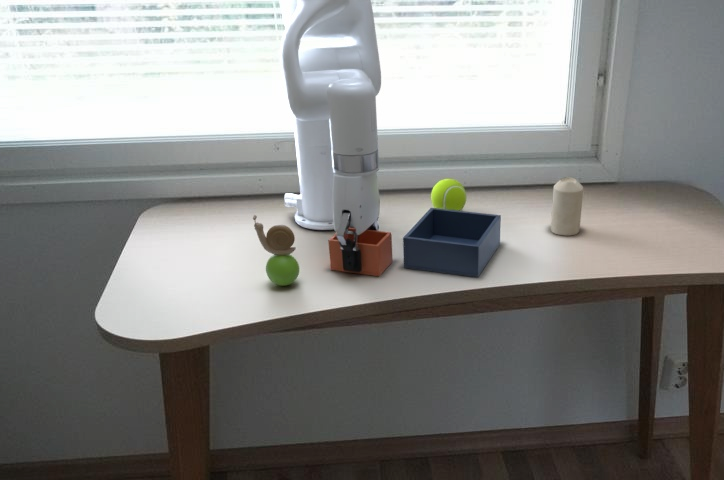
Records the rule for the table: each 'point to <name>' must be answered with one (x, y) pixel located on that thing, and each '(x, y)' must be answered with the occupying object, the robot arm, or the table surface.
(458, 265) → the big tote
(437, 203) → the tennis ball
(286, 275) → the snail figurine
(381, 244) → the small tote
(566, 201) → the candle
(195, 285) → the table surface
